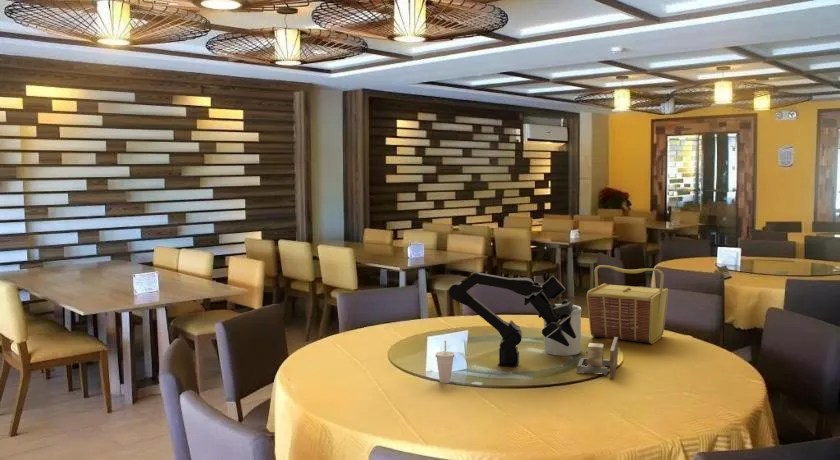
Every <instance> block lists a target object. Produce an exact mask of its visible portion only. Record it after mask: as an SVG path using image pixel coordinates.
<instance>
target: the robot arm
mask: <svg viewBox="0 0 840 460" xmlns="http://www.w3.org/2000/svg"><path fill="white" fill-rule="evenodd" d="M475 285H483V286H488V287H494V288H500V289H504V290H505V289H506V290H510V291H511V292H514V293H515V294H519V295H521V296H524V299H523V300H524V302H523V303H524V306H527V305H528V304H529V303H530V305H531V306H532V307H533V308H534V310H535V311H536V313H538V315H537V317H538V318H540V319H541V318H542V319H543V322H544V321H545V322H546V323H547V324H546V327H545V328H544V327H543V329H541V334H542V335H543V338H544V337H547V336H548V335H549V334H550V335H549V336H548V337H547V338H550V339H553V340H555V341H557V342H559V343H561V344H563V345H565V346H567V347H568V346H569V345H570V344H569V343H568V341H567V339H566V338H565V336H564V335H563V333H562V331H563V332H565V333H566V334H568V335H569V336H570V337H572V338H574V339H575V338H576V335H575V333H574V330H573V328H572V326H571V323H570V321H571V316H570V315H571V313H572V311H573V308H572V306H573V305H574V304H573V303H572V302H571V301H569V300H568V299H563V301H562V302H561V304H562V305H559V306H556V305H555V304H556V303H551V302H550V300H551V299H552V300H555V299H556V298H558V297H559V296H560V295H561V294H562V293H564V292H565V291H566V288H565V286H564V284H562V282H561V281H560V280H558V279H557V278H556V277H555V276H554V275H552V276H550V278H548V279H547V280H546V281H545V282H544V283H539V282H537V281H533V279H532V278H530V277H506V276H505V277H504V276H501V275H494V274H489V273H488V274H487V273H483V272H479V271H474V272H472V273H471V274H470V275H469V276H467V277H465V279H462V280H461V281H456V282H454V283H453V284H452V285H450V287H449V288H448V289H449V290H448V295H449V297H450V298H451V299H452V300H454V301H456V302H458V303H460V304H461V305H465V306H467V307H468V308H470V309H471V311H473V312H474V313H475V314H477V315H478V316H479V317H481V319H482V320H484V321H485V322H487V323H488V324H489V325H490V326H492V327H493V328H494V329H495V330H497V332H498V334H499V335H500V336H501V337H502V338H501V340H500V344H499V348H498V351H499V352H498V355H499V358H498V363H497V365H498V367H499V366H501V367H513V368H514V367H517V365H518V364H519V363H520V351H518V350H519V349H518V348H519V347H518V345H519V344H521V342H522V339H523V332H522V331H523V330H521V329H520V328H521V327H520V325H517V324H516V323H515V322H514V321H513V320H510V321H509V322H508V321H506V320H503V318H501V317H500V316H499V315H497V313H495V312H494V311H492V310H491V309H490V308H488V307H487V306H486V305H485V304H484V303H482V301H480V300H479V299H477V298H476V297H475V296H474V295H473V293H472V291H471V290H470V289H471V288H473V287H474V286H475ZM528 296H529V297H528ZM547 298H548V299H547ZM569 316H570V317H569ZM568 317H569V318H568Z"/></svg>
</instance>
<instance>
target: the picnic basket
mask: <svg viewBox="0 0 840 460" xmlns="http://www.w3.org/2000/svg"><path fill="white" fill-rule="evenodd" d="M600 268H607V269H611V270H613V271H616V272H618V273H619V272H620V273H624V274H641V273H644V272H647V271H648V272H658V273H659V274H660V280H659V288H655V287H645V286H631V285H619V284H618V285H617V284H607V283H602V284H600V285H599V276H598V271H599V270H598V269H600ZM593 272H594V273H593V275H594V287H593V288H591V289H589V290H588V291H587V293H586V303H587V304H586V305H587V314H588V315H587V316H588V322H589V331H590V336H592V337H593V338H596V337H598V338H606V339H613V340H614V337H618V340H623V341H631V342H638V343H646V344H650V345H654V344H655V343H656V342H658V340H660V339H661V338H662V336H663V335H664V330H665V326H666V325H665V324H666V318H667V316H666V315H667V311H668V310H667V309H668V300H669V289H668V288H664V283H665V282H664V281H665V274H664V272H663V270H661V269H660V268H659V269H658V268H653V267H652V268H648V267H646V268H645V267H644V268H637V269H625V268H620V267H618V266H613V265H606V264H605V265H604V264H602V265H601V264H600V265H597V266H596V267H594V271H593Z"/></svg>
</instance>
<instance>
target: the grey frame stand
mask: <svg viewBox="0 0 840 460" xmlns="http://www.w3.org/2000/svg"><path fill="white" fill-rule="evenodd" d="M618 343H619V339H618V337H614V339H613V340H612V344H611V347H610V349H609V359H604V358H603V366H610V367H596V366H585V365H588V357H580V359H579V362H578V363H577V369H576V372H584V373H602V374H604V375H603V376H608V369H609V380H614V378H615V375H616V371H617V368H616V367H618V364H619V363H618V360H619V359H618V357H619V356H618V355H619V353H618V351H619V350H618V349H619V344H618ZM617 363H618V364H617ZM584 373H583V374H584Z"/></svg>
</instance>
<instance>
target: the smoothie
mask: <svg viewBox="0 0 840 460" xmlns="http://www.w3.org/2000/svg"><path fill="white" fill-rule="evenodd" d="M435 358H436V363H437V364H436V365H437V371H438V378H439V379H438V380H439V383H441V384H450V383H451V380H452V372H453V364H454V358H455V353H454V352H452V351H447V340H444V350H443V351H438V352H436V353H435Z"/></svg>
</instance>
